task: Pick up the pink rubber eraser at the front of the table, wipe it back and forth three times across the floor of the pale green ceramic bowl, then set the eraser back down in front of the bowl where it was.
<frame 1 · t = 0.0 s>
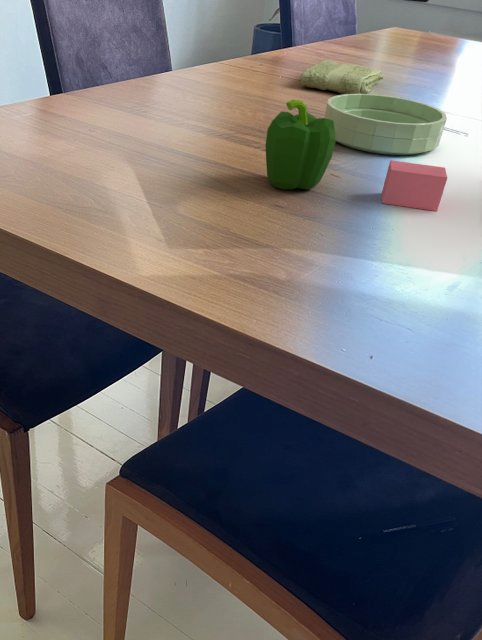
bell pepper: (290, 186, 92), on the table
washcloth: (339, 86, 140), on the table
eraser: (408, 201, 89), on the table
bowl: (378, 139, 111), on the table
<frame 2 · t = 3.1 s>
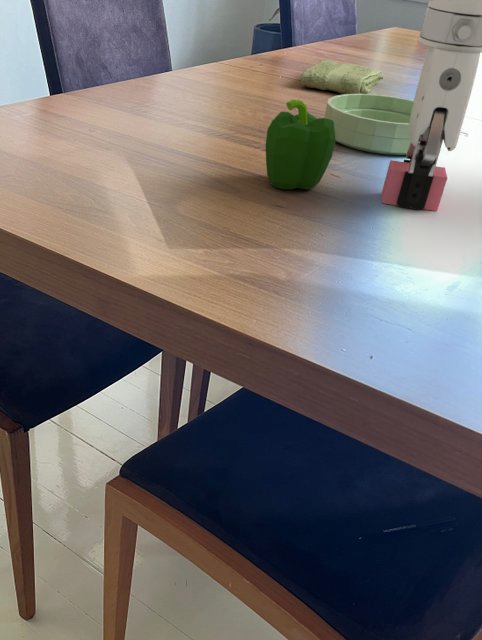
hand: (409, 199, 89), 0 cm above the table, tool pointing down, fingers closed on eraser, 4 cm apart
eraser: (408, 201, 89), on the table, touching gripper
everything else where it was.
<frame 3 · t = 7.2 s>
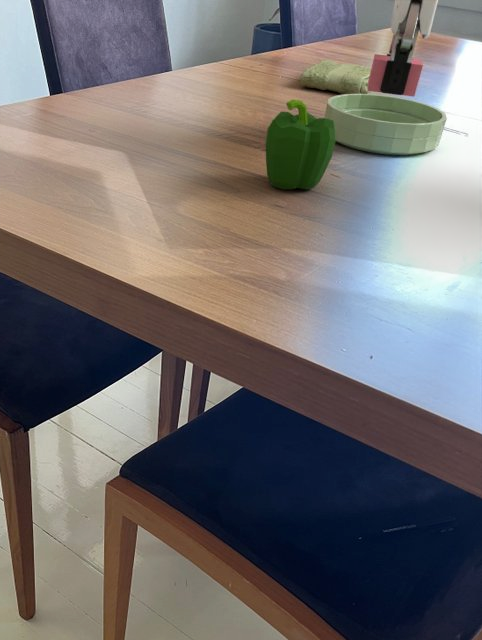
hand: (391, 88, 104), 8 cm above the table, tool pointing down, fingers closed on eraser, 4 cm apart
eraser: (390, 90, 104), point 7 cm above the table, touching gripper
everything else where it was.
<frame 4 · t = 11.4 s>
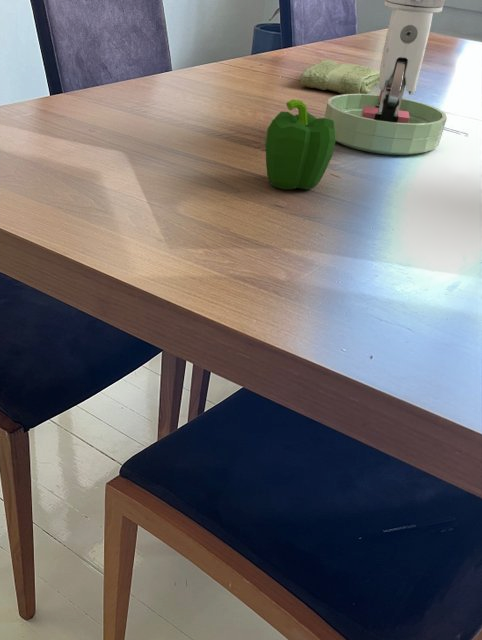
hand: (379, 138, 108), 1 cm above the table, tool pointing down, fingers closed on eraser, 4 cm apart
eraser: (379, 140, 108), point 1 cm above the table, touching gripper
everything else where it was.
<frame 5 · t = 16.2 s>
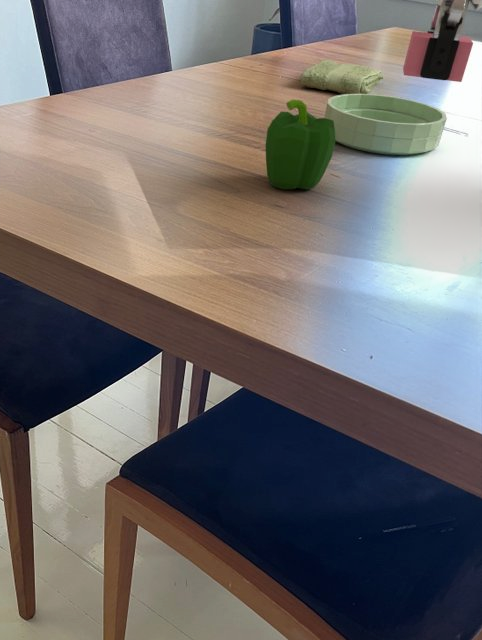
hand: (433, 72, 86), 13 cm above the table, tool pointing down, fingers closed on eraser, 4 cm apart
eraser: (431, 75, 86), point 13 cm above the table, touching gripper
everything else where it was.
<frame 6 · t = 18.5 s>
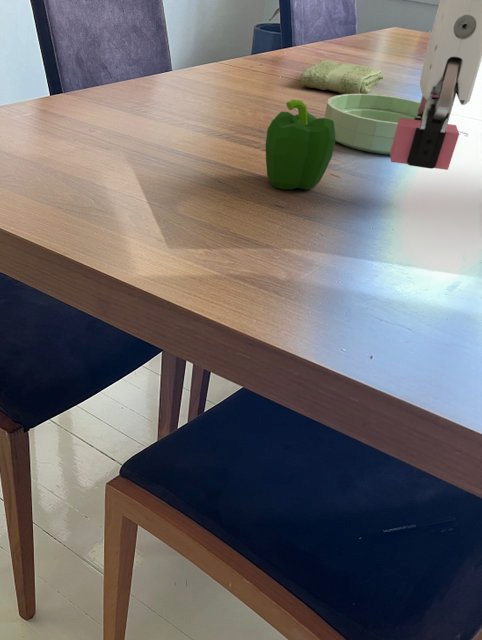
hand: (419, 158, 86), 5 cm above the table, tool pointing down, fingers closed on eraser, 4 cm apart
eraser: (418, 161, 86), point 5 cm above the table, touching gripper
everything else where it was.
when the fingers open (0 cm above the table, at t = 20.0 s): eraser stays where it is, on the table.
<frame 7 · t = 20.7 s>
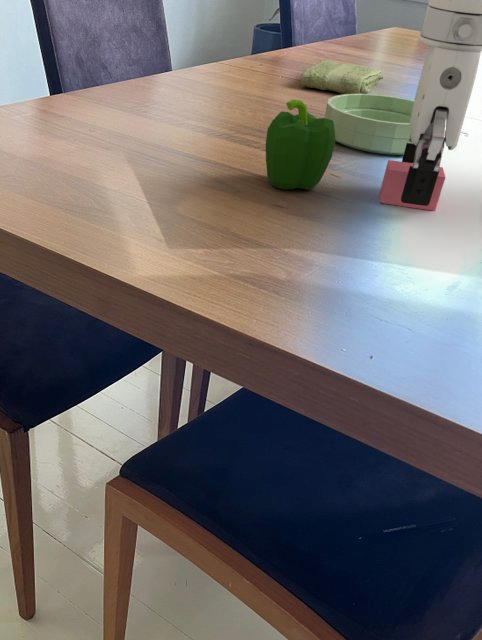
hand: (412, 190, 88), 1 cm above the table, tool pointing down, fingers open, 9 cm apart
eraser: (406, 201, 89), on the table
everything else where it was.
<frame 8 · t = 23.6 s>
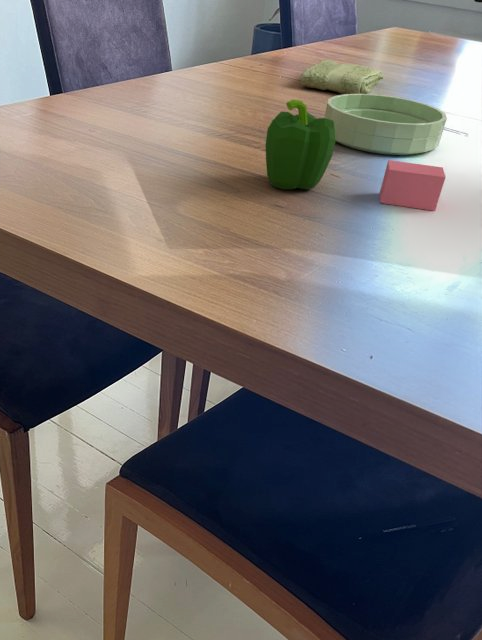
nothing on the table moved.
at the end: eraser inside the target area on the table beside the bowl (0.2 cm from its centre), on the table; eraser tilted 0°; the gripper is holding nothing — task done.
